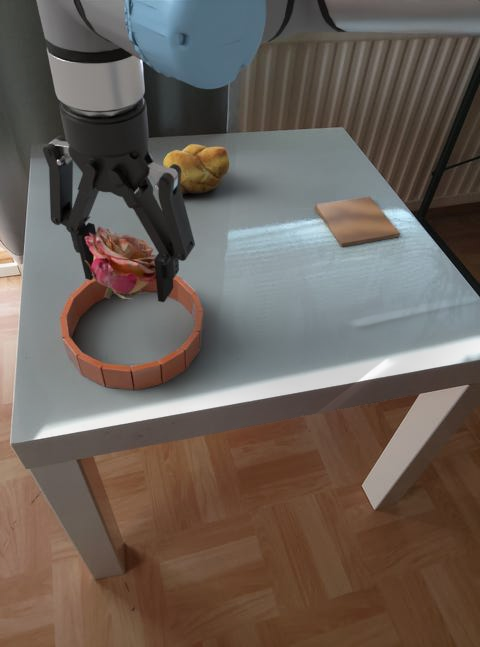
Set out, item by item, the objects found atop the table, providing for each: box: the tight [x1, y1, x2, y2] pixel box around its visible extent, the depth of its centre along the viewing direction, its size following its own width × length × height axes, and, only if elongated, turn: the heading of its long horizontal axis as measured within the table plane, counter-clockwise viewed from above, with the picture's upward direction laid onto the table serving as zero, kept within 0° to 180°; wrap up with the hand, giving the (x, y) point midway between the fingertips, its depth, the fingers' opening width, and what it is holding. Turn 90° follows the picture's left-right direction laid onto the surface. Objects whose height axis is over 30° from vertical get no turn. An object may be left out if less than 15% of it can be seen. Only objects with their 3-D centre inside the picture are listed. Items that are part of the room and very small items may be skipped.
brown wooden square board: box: [314, 196, 401, 248], centre depth 88 cm, size 11×11×1 cm
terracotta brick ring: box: [59, 274, 204, 391], centre depth 67 cm, size 18×18×4 cm
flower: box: [84, 225, 158, 301], centre depth 58 cm, size 10×9×8 cm
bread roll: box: [162, 143, 230, 196], centre depth 89 cm, size 13×10×8 cm
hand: (129, 283), depth 61 cm, fingers closed on flower, 9 cm apart
